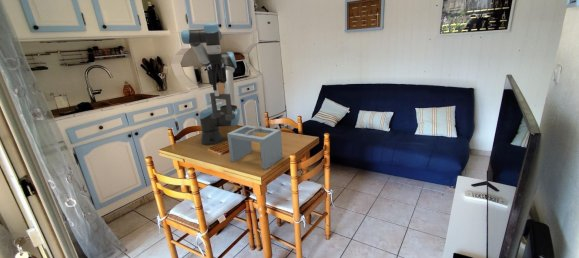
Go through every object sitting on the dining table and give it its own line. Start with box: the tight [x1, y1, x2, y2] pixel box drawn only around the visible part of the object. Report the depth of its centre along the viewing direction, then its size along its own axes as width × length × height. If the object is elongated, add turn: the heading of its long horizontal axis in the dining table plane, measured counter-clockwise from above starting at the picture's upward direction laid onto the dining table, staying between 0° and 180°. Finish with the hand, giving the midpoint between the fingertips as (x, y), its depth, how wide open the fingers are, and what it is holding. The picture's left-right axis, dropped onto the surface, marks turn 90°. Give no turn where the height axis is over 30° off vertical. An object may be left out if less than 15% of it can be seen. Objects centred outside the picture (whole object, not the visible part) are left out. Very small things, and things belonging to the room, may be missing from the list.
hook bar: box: [245, 125, 263, 136], centre depth 154 cm, size 2×13×2 cm, turn 149°
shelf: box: [226, 124, 284, 170], centre depth 157 cm, size 25×17×17 cm
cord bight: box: [209, 82, 235, 121], centre depth 160 cm, size 15×5×21 cm, turn 59°
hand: (219, 95), depth 159 cm, fingers closed on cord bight, 4 cm apart
